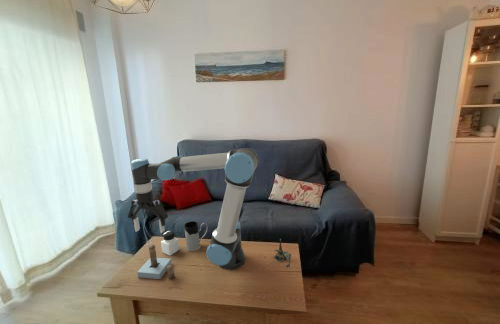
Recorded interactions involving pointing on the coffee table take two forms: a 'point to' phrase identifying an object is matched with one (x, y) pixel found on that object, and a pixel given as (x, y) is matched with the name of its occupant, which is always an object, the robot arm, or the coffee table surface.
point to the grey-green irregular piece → (282, 255)
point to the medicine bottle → (169, 243)
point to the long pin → (153, 256)
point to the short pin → (170, 271)
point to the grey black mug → (193, 236)
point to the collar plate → (154, 269)
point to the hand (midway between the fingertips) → (150, 230)
